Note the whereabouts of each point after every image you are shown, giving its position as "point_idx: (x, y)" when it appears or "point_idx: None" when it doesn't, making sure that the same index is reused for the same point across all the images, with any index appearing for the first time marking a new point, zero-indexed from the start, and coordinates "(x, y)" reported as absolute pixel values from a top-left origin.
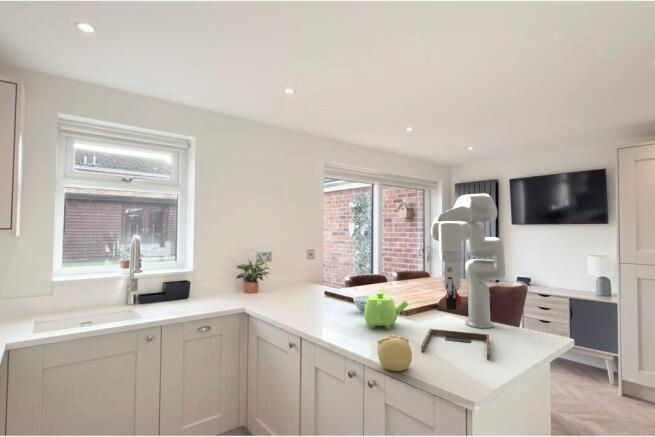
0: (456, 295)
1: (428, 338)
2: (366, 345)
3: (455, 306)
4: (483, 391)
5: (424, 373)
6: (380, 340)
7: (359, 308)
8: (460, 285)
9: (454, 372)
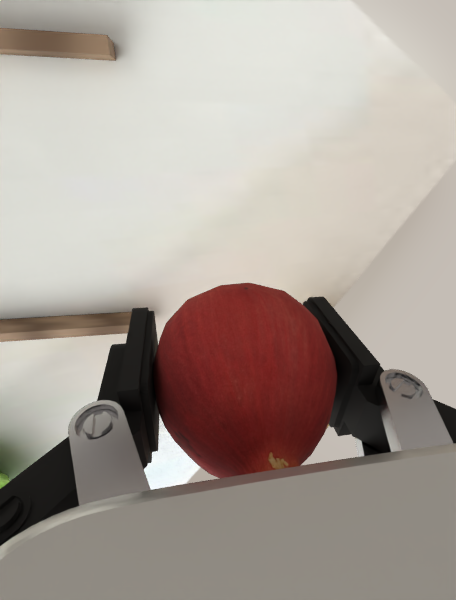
0: (321, 386)
1: (26, 326)
2: (167, 436)
3: (333, 315)
4: (425, 94)
5: (318, 278)
6: (327, 427)
7: None
8: (182, 517)
9: (293, 198)
